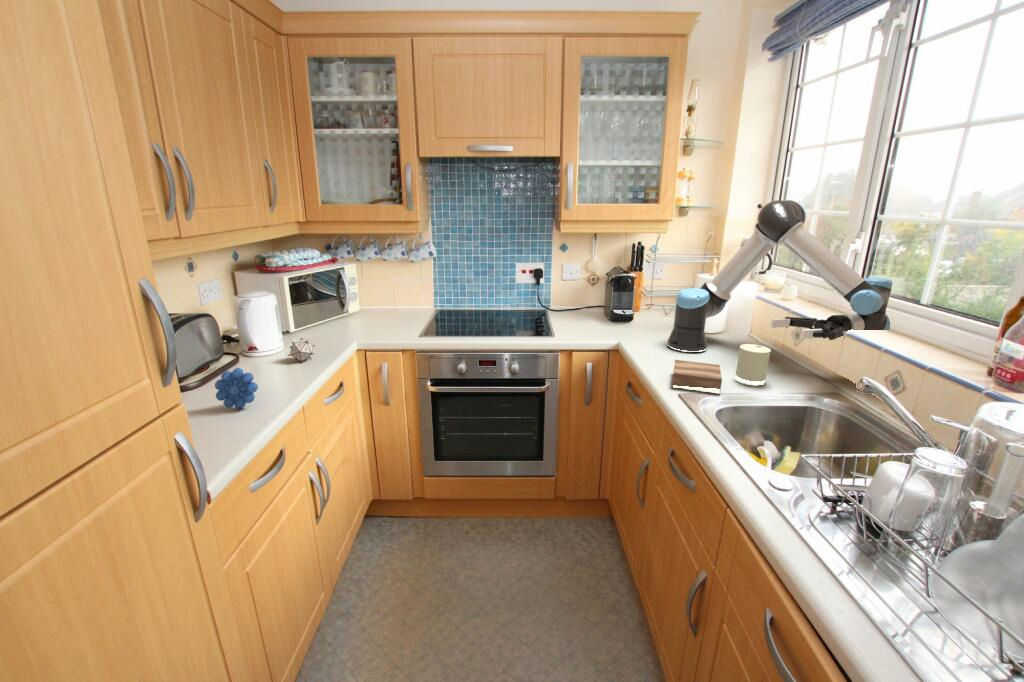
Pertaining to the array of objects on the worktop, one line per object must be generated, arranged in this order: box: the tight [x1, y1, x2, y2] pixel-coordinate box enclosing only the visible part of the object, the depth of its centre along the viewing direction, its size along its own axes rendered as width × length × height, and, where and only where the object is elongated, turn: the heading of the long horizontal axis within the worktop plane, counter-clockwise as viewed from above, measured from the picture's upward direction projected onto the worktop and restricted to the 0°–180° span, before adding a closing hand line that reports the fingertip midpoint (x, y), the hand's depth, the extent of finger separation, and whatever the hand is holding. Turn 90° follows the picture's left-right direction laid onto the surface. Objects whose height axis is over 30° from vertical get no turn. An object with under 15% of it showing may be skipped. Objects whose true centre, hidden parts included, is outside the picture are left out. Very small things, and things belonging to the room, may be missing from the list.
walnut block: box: [671, 359, 723, 390], centre depth 152 cm, size 14×14×5 cm
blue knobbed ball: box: [214, 367, 259, 410], centre depth 129 cm, size 12×7×12 cm, turn 91°
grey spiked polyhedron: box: [287, 337, 315, 364], centre depth 168 cm, size 9×8×10 cm
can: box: [735, 343, 772, 381], centre depth 154 cm, size 9×9×12 cm
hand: (786, 328), depth 152 cm, fingers open, 13 cm apart
